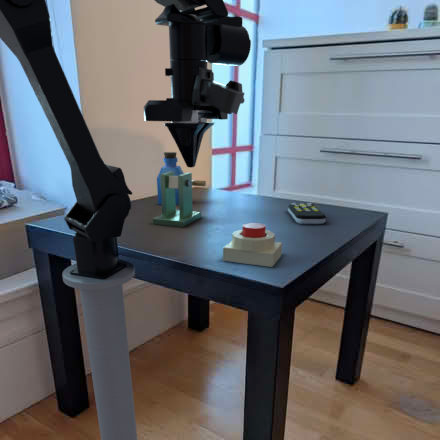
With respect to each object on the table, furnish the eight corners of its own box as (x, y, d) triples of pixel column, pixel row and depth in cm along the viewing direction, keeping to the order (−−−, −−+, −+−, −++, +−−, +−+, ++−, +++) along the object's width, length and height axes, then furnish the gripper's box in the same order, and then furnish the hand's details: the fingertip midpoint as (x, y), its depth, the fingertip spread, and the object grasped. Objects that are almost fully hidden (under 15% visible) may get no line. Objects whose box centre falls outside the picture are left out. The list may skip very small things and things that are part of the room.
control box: (271, 268, 63) (273, 242, 61) (222, 261, 65) (222, 236, 64) (281, 255, 68) (283, 231, 67) (235, 249, 71) (236, 226, 69)
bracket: (172, 214, 94) (170, 169, 90) (201, 217, 92) (200, 171, 88) (153, 224, 86) (150, 175, 82) (183, 227, 84) (182, 177, 80)
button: (261, 240, 63) (262, 229, 63) (239, 238, 65) (239, 227, 64) (267, 234, 66) (268, 224, 66) (246, 232, 68) (246, 221, 67)
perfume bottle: (158, 204, 104) (155, 153, 99) (162, 199, 110) (159, 151, 105) (182, 204, 104) (181, 154, 99) (185, 199, 110) (184, 151, 105)
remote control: (297, 225, 86) (297, 215, 85) (286, 211, 98) (287, 202, 97) (326, 224, 86) (327, 215, 85) (313, 211, 98) (313, 202, 97)
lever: (181, 187, 95) (181, 176, 94) (205, 189, 93) (206, 178, 92) (160, 187, 86) (160, 175, 85) (186, 189, 84) (187, 177, 83)
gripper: (212, 52, 53) (213, 177, 60) (257, 65, 69) (253, 163, 75) (138, 55, 57) (145, 173, 63) (196, 67, 73) (198, 160, 79)
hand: (191, 167), depth 70 cm, fingers closed
